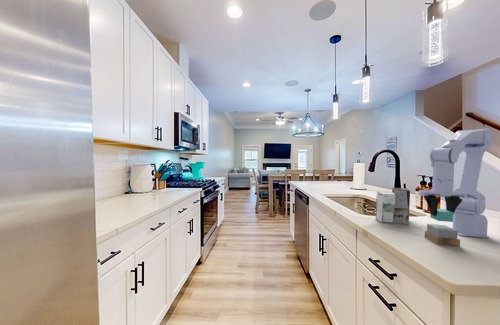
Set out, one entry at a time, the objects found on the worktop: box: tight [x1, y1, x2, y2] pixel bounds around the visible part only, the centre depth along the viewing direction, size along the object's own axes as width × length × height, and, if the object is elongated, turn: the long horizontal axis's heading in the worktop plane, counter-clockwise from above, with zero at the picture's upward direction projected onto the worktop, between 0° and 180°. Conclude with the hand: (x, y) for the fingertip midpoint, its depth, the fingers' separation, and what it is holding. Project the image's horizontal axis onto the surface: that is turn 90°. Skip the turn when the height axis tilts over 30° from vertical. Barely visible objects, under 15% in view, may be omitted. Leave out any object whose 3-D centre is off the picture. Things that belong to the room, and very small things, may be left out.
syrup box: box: [375, 191, 395, 224], centre depth 99 cm, size 6×6×14 cm
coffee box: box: [391, 187, 411, 225], centre depth 100 cm, size 9×6×16 cm
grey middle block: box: [426, 223, 458, 239], centre depth 76 cm, size 6×6×3 cm
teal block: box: [429, 208, 453, 223], centre depth 76 cm, size 4×4×4 cm
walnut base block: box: [424, 230, 461, 248], centre depth 76 cm, size 7×7×3 cm
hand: (441, 215), depth 76 cm, fingers closed on teal block, 4 cm apart
